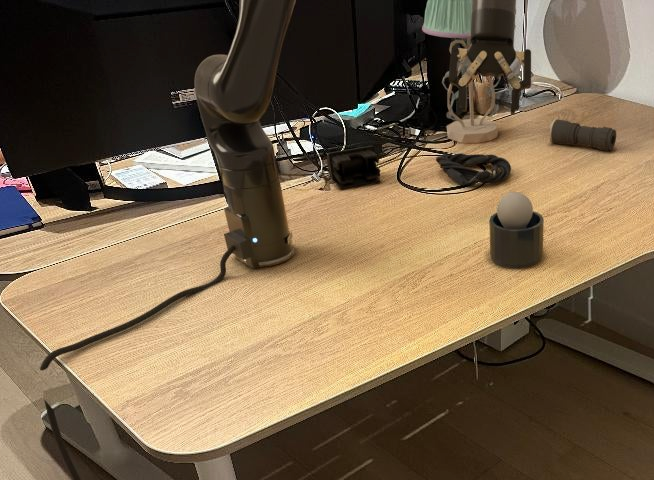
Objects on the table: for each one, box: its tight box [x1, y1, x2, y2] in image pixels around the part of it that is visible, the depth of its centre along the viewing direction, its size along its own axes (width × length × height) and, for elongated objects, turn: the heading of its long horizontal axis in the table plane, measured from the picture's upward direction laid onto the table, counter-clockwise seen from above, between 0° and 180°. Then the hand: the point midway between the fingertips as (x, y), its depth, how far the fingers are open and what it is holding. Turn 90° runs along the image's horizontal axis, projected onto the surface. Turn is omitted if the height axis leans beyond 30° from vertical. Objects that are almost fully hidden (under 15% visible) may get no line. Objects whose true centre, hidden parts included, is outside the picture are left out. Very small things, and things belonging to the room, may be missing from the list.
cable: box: [435, 153, 512, 187], centre depth 164 cm, size 17×14×4 cm
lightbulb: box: [496, 191, 534, 229], centre depth 128 cm, size 6×6×11 cm
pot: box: [488, 210, 545, 269], centre depth 130 cm, size 9×9×7 cm
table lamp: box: [421, 0, 517, 144], centre depth 176 cm, size 22×22×40 cm
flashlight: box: [549, 118, 617, 152], centre depth 177 cm, size 15×5×5 cm, turn 62°
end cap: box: [326, 145, 382, 191], centre depth 161 cm, size 10×7×7 cm
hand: (488, 112), depth 130 cm, fingers open, 8 cm apart
